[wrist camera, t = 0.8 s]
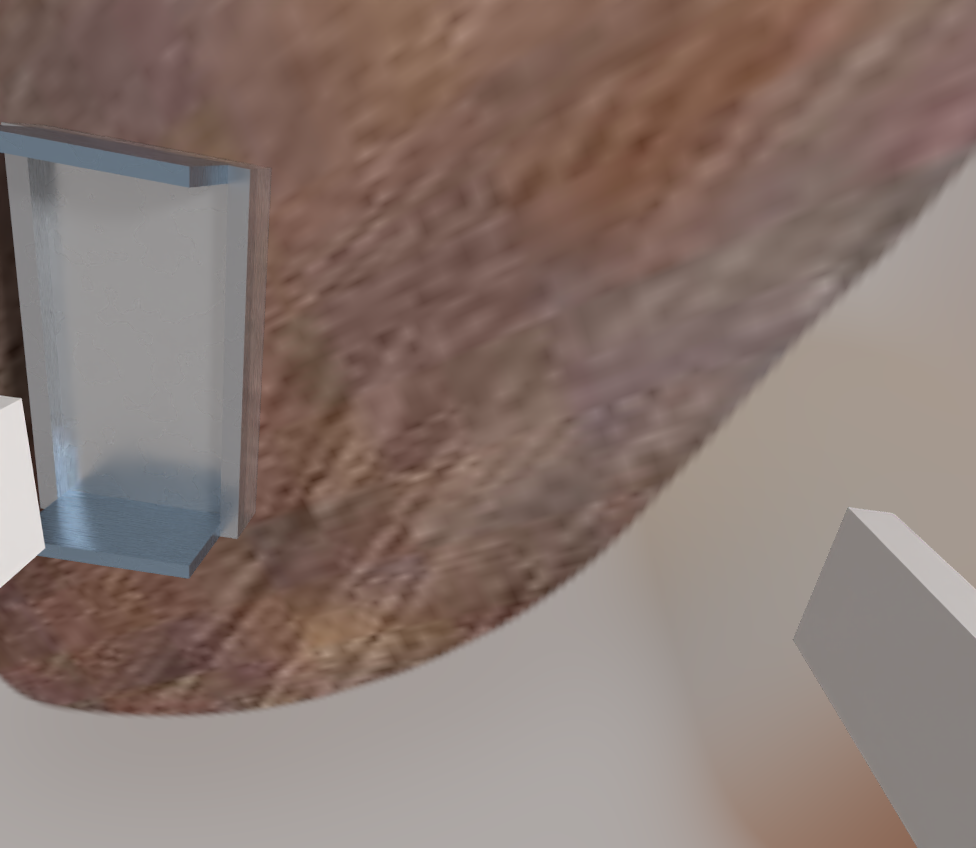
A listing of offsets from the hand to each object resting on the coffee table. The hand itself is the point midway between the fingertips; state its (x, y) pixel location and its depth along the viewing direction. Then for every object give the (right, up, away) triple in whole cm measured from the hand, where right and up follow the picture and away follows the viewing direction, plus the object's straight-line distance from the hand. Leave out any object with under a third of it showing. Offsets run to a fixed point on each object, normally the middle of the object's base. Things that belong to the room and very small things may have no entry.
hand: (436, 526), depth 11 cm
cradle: (-17, +6, +25) cm, 31 cm away
